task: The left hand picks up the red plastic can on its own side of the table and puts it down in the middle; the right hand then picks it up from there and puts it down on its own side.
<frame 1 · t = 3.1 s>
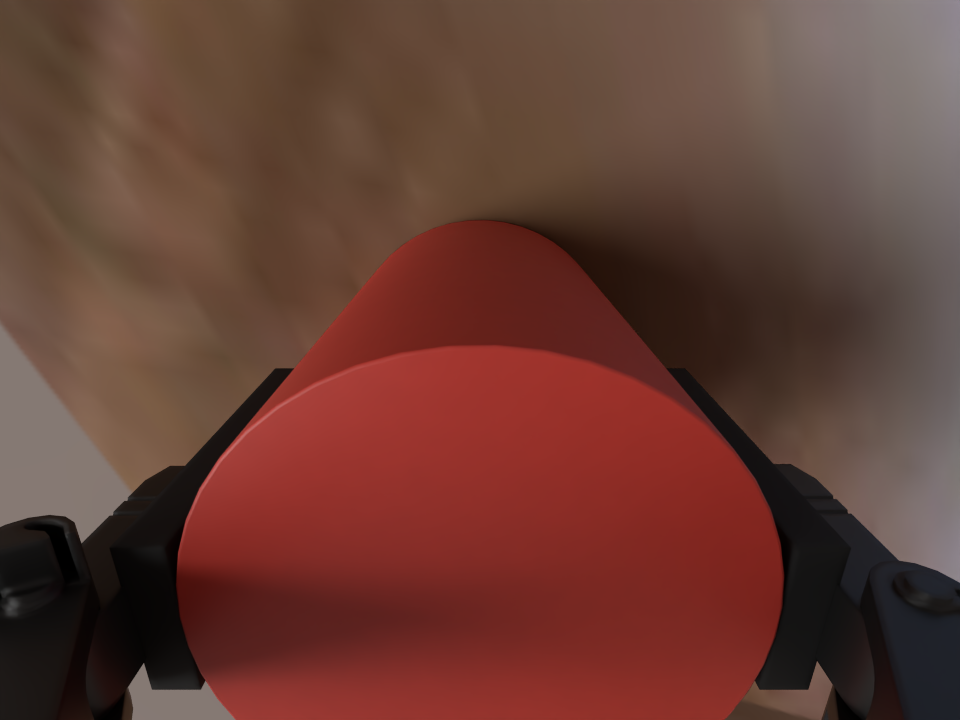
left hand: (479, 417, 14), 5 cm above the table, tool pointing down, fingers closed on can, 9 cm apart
can: (480, 348, 19), on the table, touching left hand
when the left hand's fingers open (6 cm above the table, at t = 7.2 s): can drops 1 cm, on the table.
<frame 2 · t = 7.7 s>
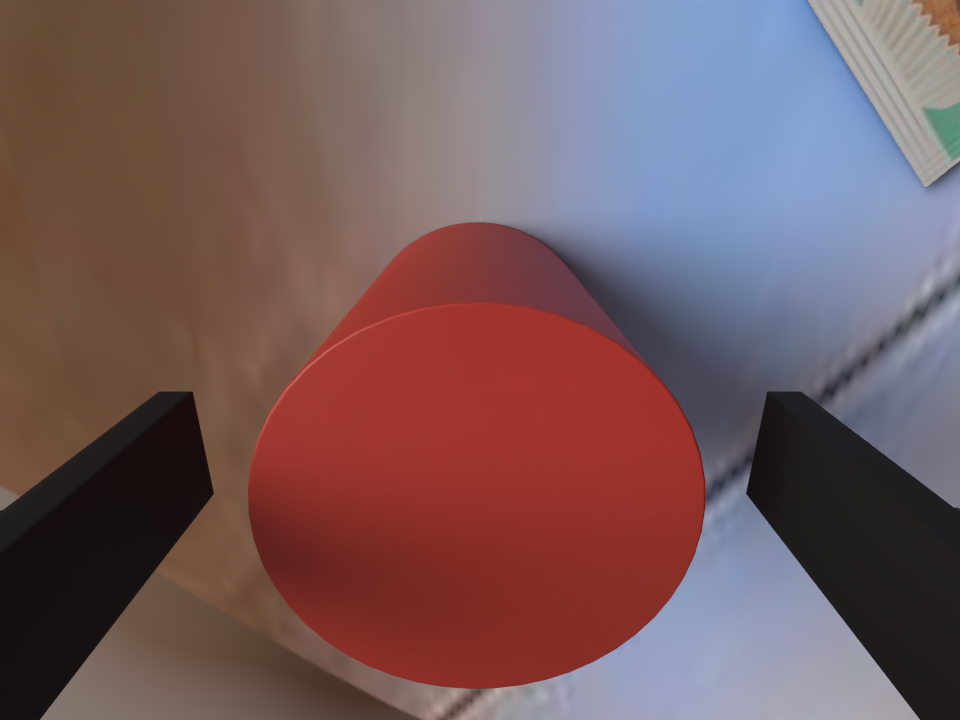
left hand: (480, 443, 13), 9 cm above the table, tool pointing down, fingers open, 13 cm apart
can: (477, 335, 21), on the table
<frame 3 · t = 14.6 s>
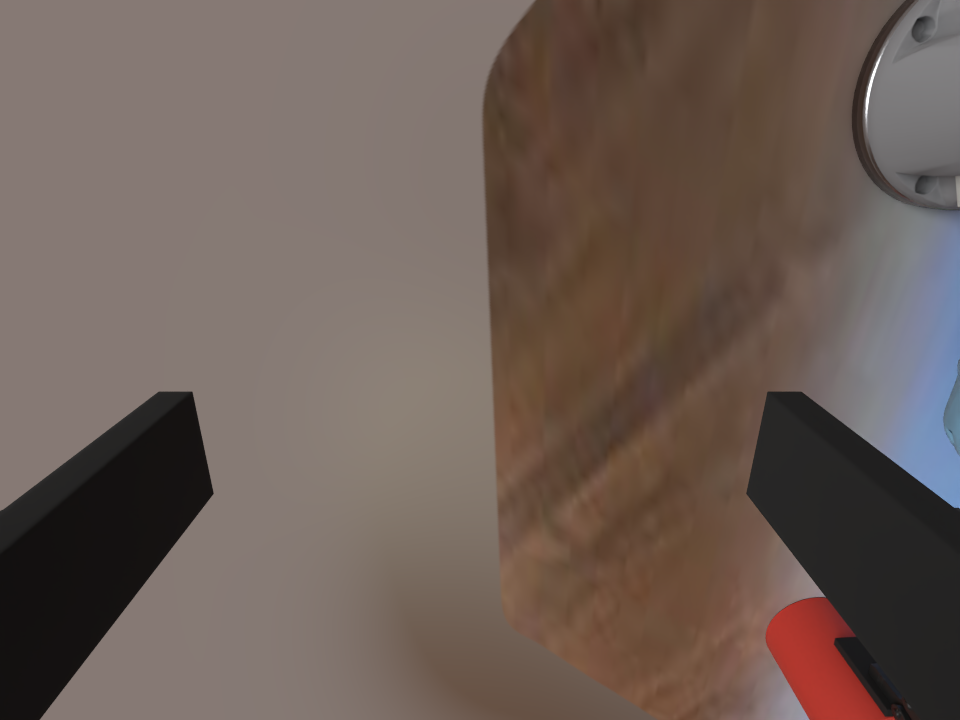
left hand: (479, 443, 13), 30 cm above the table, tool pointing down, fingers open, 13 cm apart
can: (809, 631, 54), on the table, touching right hand
when the right hand's fingers open (6 cm above the table, at t = 22.5 s): can drops 1 cm, on the table.
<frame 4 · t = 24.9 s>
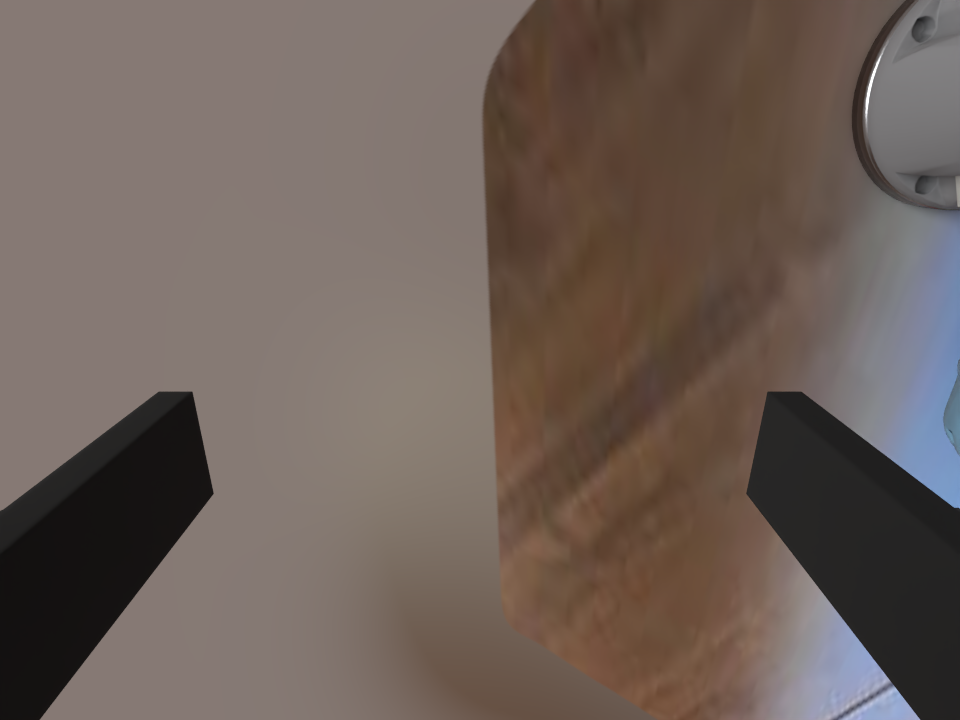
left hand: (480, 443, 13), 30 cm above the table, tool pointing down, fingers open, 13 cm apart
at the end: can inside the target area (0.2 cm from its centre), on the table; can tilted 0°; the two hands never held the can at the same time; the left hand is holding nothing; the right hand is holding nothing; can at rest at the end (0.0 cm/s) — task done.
